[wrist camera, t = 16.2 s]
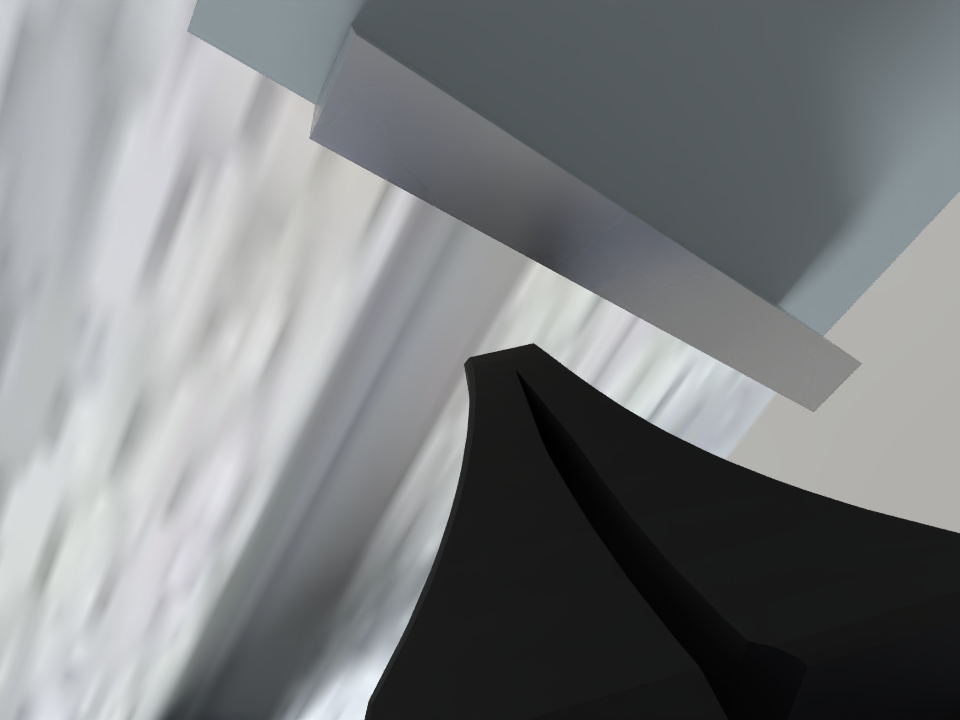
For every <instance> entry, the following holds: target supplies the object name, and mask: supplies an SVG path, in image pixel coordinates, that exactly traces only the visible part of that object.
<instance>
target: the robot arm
mask: <svg viewBox="0 0 960 720" xmlns="http://www.w3.org/2000/svg"><path fill="white" fill-rule="evenodd" d="M464 367H465V373H466V379H467V385H468V391H469V417H468V430H467V438H466V444H465V450H464V456H463V462H462V468H461V473H460V477H459V482H458V486H457V490H456V494H455V498H454V501H453V505H452V509H451V512H450V516H449V519H448V522H447V525H446V528H445V531H444V534H443V537H442V541H441V544H440V547H439V550H438V552H437V555H436V558H435V561H434V563H433V566H432V568H431V571H430V573H429V576H428V578H427V580H426V583H425V585H424V588H423V590H422V592H421V595H420V597H419V599H418V602H417V604H416V606H415V609H414V611H413V613H412V616H411V618H410V620H409V623H408V625H407V627H406V629H405V631H404V633H403V635H402V637H401V639H400V641H399V643H398V645H397V647H396V649H395V651H394V653H393V655H392V657H391V659H390V661H389V663H388V665H387V666H386V668H385V670H384V672H383V674H382V676H381V678H380V680H379V682H378V684H377V686H376V688H375V690H374V692H373V694H372V696H371V698H370V700H369V702H368V706H367V711H366V715H365V719H364V720H960V533H957V532H953V531H948V530H945V529H941V528H937V527H933V526H929V525H925V524H922V523H918V522H914V521H910V520H906V519H902V518H898V517H894V516H890V515H886V514H883V513H879V512H875V511H871V510H867V509H864V508H860V507H857V506H854V505H851V504H847V503H844V502H841V501H838V500H834V499H832V498H828V497H825V496H822V495H819V494H815V493H812V492H809V491H806V490H803V489H800V488H798V487H795V486H792V485H789V484H786V483H783V482H781V481H778V480H775V479H772V478H770V477H767V476H765V475H762V474H760V473H757V472H755V471H752V470H750V469H747V468H744V467H742V466H739V465H736V464H734V463H732V462H729V461H727V460H725V459H723V458H720V457H718V456H716V455H713V454H711V453H709V452H707V451H705V450H703V449H701V448H698V447H696V446H694V445H692V444H690V443H688V442H686V441H684V440H682V439H680V438H678V437H676V436H674V435H672V434H670V433H668V432H666V431H664V430H662V429H660V428H659V427H657V426H655V425H653V424H651V423H650V422H648V421H646V420H645V419H643V418H641V417H639V416H638V415H636V414H634V413H633V412H631V411H629V410H627V409H626V408H624V407H623V406H621V405H619V404H618V403H616V402H615V401H613V400H612V399H610V398H609V397H607V396H606V395H604V394H603V393H601V392H600V391H598V390H597V389H595V388H594V387H592V386H591V385H590V384H588V383H587V382H585V381H584V380H583V379H581V378H580V377H578V376H577V375H576V374H574V373H573V372H572V371H570V370H569V369H567V368H566V367H565V366H563V365H562V364H561V363H559V362H558V361H557V360H556V359H554V358H553V357H552V356H550V355H549V354H548V353H546V352H545V351H544V350H542V349H541V348H540V347H538V346H537V345H535V344H534V343H533V344H528V345H524V346H519V347H515V348H510V349H506V350H501V351H497V352H492V353H488V354H483V355H478V356H474V357H469V359H468V360H467V361H466V362H465V364H464Z"/></svg>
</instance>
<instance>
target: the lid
mask: <svg viewBox="0 0 960 720" xmlns="http://www.w3.org/2000/svg"><path fill="white" fill-rule="evenodd" d="M187 31H188V32H190V33H191V34H193V35H195V36H197V37H198V38H200V39H202V40H204V41H205V42H207V43H209V44H211V45H212V46H214V47H216V48H218V49H219V50H221V51H223V52H225V53H226V54H228V55H230V56H232V57H233V58H235V59H237V60H238V61H240V62H242V63H244V64H245V65H247V66H249V67H251V68H252V69H254V70H256V71H258V72H259V73H261V74H263V75H265V76H266V77H268V78H270V79H272V80H273V81H275V82H277V83H279V84H280V85H282V86H284V87H286V88H287V89H289V90H291V91H293V92H294V93H296V94H298V95H300V96H301V97H303V98H305V99H307V100H308V101H310V102H312V103H314V104H315V109H314V115H313V121H312V127H311V132H310V138H309V139H311V140H313V141H315V142H317V143H319V144H321V145H322V146H324V147H326V148H328V149H330V150H332V151H333V152H335V153H337V154H339V155H341V156H343V157H345V158H346V159H348V160H350V161H352V162H354V163H356V164H357V165H359V166H361V167H363V168H365V169H367V170H368V171H370V172H372V173H374V174H376V175H378V176H380V177H381V178H383V179H385V180H387V181H389V182H391V183H392V184H394V185H396V186H398V187H400V188H402V189H403V190H405V191H407V192H409V193H411V194H413V195H415V196H416V197H418V198H420V199H422V200H424V201H426V202H427V203H429V204H431V205H433V206H435V207H437V208H438V209H440V210H442V211H444V212H446V213H448V214H450V215H451V216H453V217H455V218H457V219H459V220H461V221H462V222H464V223H466V224H468V225H470V226H472V227H473V228H475V229H477V230H479V231H481V232H483V233H485V234H486V235H488V236H490V237H492V238H494V239H496V240H497V241H499V242H501V243H503V244H505V245H507V246H508V247H510V248H512V249H514V250H516V251H518V252H520V253H521V254H523V255H525V256H527V257H529V258H531V259H532V260H534V261H536V262H538V263H540V264H542V265H543V266H545V267H547V268H549V269H551V270H553V271H555V272H556V273H558V274H560V275H562V276H564V277H566V278H567V279H569V280H571V281H573V282H575V283H577V284H578V285H580V286H582V287H584V288H586V289H588V290H590V291H591V292H593V293H595V294H597V295H599V296H601V297H602V298H604V299H606V300H608V301H610V302H612V303H614V304H615V305H617V306H619V307H621V308H623V309H625V310H626V311H628V312H630V313H632V314H634V315H636V316H637V317H639V318H641V319H643V320H645V321H647V322H649V323H650V324H652V325H654V326H656V327H658V328H660V329H661V330H663V331H665V332H667V333H669V334H671V335H672V336H674V337H676V338H678V339H680V340H682V341H684V342H685V343H687V344H689V345H691V346H693V347H695V348H696V349H698V350H700V351H702V352H704V353H706V354H707V355H709V356H711V357H713V358H715V359H717V360H719V361H720V362H722V363H724V364H726V365H728V366H730V367H731V368H733V369H735V370H737V371H739V372H741V373H742V374H744V375H746V376H748V377H750V378H752V379H754V380H755V381H757V382H759V383H761V384H763V385H765V386H766V387H768V388H770V389H772V390H774V391H776V392H777V393H779V394H781V395H783V396H785V397H787V398H789V399H791V400H792V401H794V402H796V403H798V404H800V405H802V406H803V407H805V408H807V409H809V410H811V411H813V412H814V411H815V410H816V409H817V408H818V407H819V406H820V405H821V404H822V403H823V402H824V401H825V400H826V399H827V398H828V397H829V396H830V395H831V394H832V393H833V392H834V391H835V390H836V389H837V388H838V387H839V386H840V385H841V384H842V383H843V382H844V381H845V380H846V379H847V378H848V377H849V376H850V375H851V374H852V373H853V372H854V371H855V370H856V369H857V368H858V367H859V366H860V365H861V364H862V363H860V362H859V361H858V360H856V359H855V358H853V357H851V356H850V355H849V354H848V353H846V352H845V351H843V350H842V349H840V348H839V347H837V346H836V345H835V344H833V343H832V342H830V341H829V340H828V339H826V338H825V337H823V336H824V335H825V334H826V333H827V332H828V331H829V330H830V329H831V328H832V327H833V325H834V324H835V323H836V322H837V321H838V320H839V319H840V318H841V317H842V316H843V315H844V314H845V313H846V312H847V311H848V310H849V308H850V307H851V306H852V305H853V304H854V303H855V302H856V301H857V300H858V299H859V298H860V297H861V296H862V295H863V293H864V292H865V291H866V290H867V289H868V288H869V287H870V286H871V285H872V284H873V283H874V282H875V281H876V280H877V279H878V278H879V277H880V275H881V274H882V273H883V272H884V271H885V270H886V269H887V268H888V267H889V266H890V265H891V264H892V263H893V262H894V261H895V260H896V258H897V257H898V256H899V255H900V254H901V253H902V252H903V251H904V250H905V249H906V248H907V247H908V246H909V245H910V243H911V242H912V241H913V240H914V239H915V238H916V237H917V236H918V235H919V234H920V233H921V232H922V230H924V229H925V228H926V226H927V225H928V224H929V223H930V222H931V221H932V220H933V219H934V218H935V217H936V216H937V215H938V214H939V213H940V212H941V211H942V209H943V208H944V207H945V206H946V205H947V204H948V203H949V202H950V201H951V200H952V199H953V198H954V197H955V196H956V195H957V193H958V192H959V191H960V0H198V1H197V4H196V7H195V10H194V13H193V16H192V19H191V22H190V24H189V27H188V30H187Z"/></svg>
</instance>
